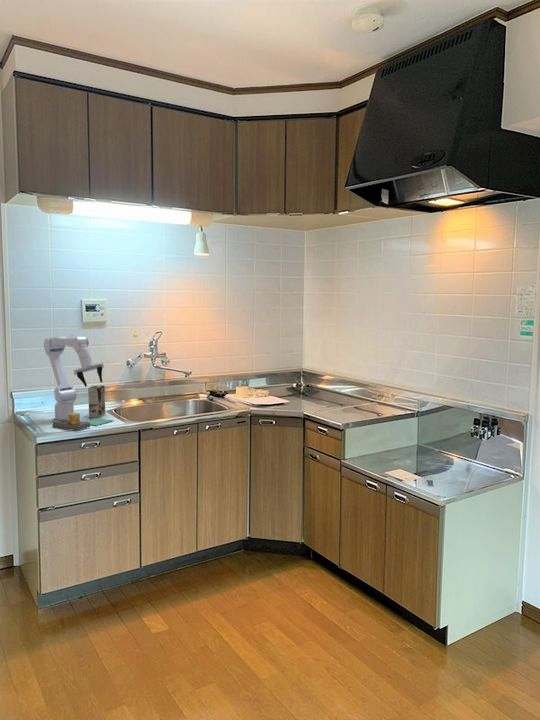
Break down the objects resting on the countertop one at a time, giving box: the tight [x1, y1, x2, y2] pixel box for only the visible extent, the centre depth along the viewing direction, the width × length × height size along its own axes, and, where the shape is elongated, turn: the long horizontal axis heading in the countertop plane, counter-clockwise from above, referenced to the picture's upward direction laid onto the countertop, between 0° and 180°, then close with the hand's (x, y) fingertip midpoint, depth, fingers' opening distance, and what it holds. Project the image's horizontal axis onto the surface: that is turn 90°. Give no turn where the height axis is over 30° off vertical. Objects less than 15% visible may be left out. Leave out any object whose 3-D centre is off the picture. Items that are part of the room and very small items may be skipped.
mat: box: [82, 417, 114, 427], centre depth 283 cm, size 12×12×1 cm
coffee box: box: [87, 385, 106, 418], centre depth 298 cm, size 9×6×16 cm
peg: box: [68, 412, 81, 424], centre depth 272 cm, size 4×4×7 cm
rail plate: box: [52, 419, 91, 431], centre depth 273 cm, size 17×8×3 cm, turn 63°
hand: (93, 384), depth 271 cm, fingers open, 7 cm apart
